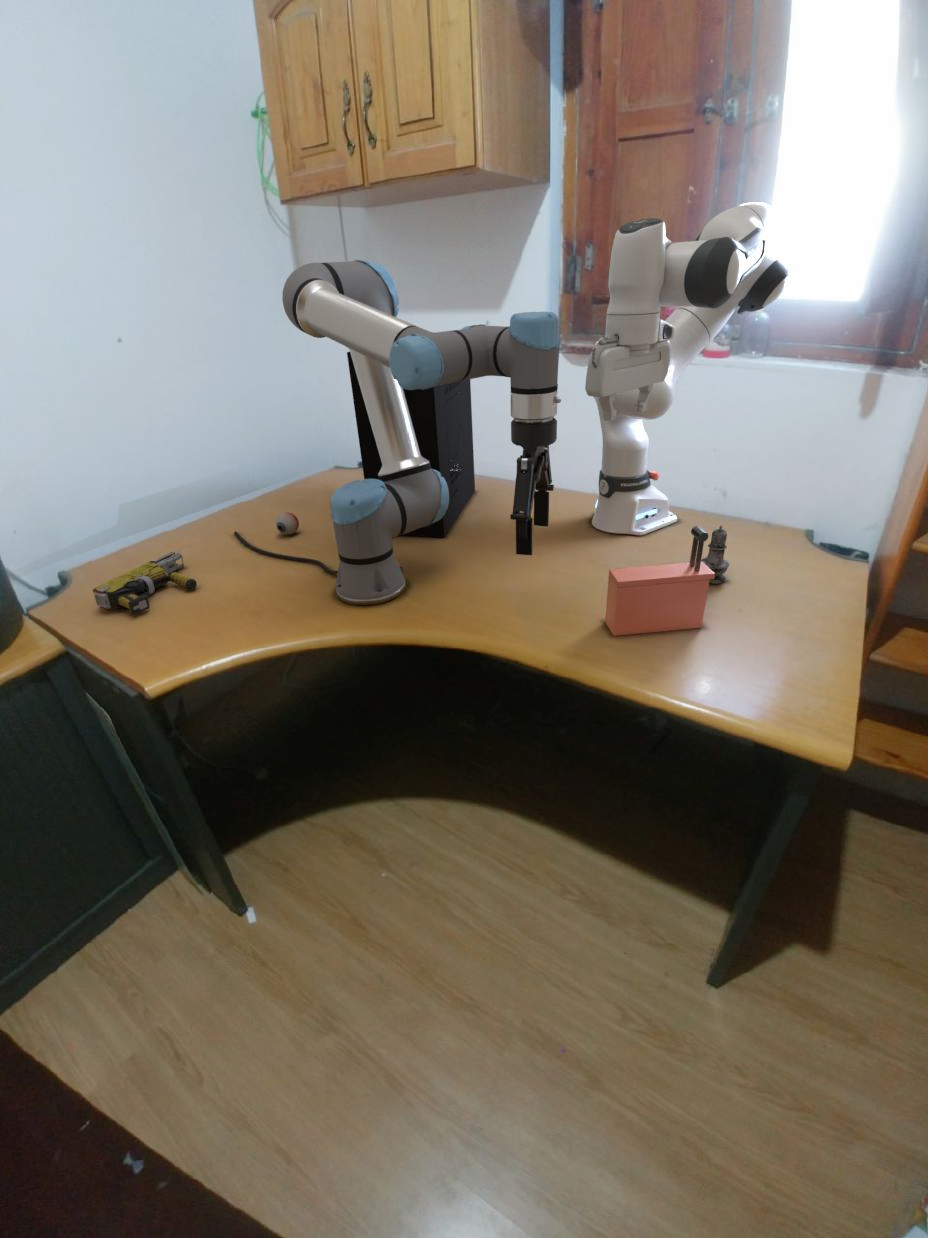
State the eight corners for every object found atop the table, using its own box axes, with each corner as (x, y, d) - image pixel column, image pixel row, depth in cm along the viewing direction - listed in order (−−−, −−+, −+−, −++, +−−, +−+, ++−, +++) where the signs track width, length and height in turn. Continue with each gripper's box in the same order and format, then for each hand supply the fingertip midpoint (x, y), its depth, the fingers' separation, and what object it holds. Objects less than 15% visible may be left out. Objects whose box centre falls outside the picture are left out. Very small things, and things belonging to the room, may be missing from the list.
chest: (689, 613, 117) (697, 567, 112) (701, 627, 113) (709, 579, 108) (604, 621, 117) (608, 574, 112) (613, 635, 112) (617, 587, 107)
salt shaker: (728, 584, 127) (739, 531, 121) (699, 583, 128) (707, 530, 122) (724, 572, 132) (733, 520, 126) (695, 571, 133) (703, 519, 127)
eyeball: (273, 537, 164) (268, 516, 161) (287, 528, 169) (282, 508, 166) (291, 539, 161) (286, 518, 158) (305, 530, 166) (301, 510, 163)
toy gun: (220, 560, 144) (169, 549, 148) (142, 602, 124) (86, 589, 128) (223, 577, 146) (173, 566, 150) (147, 622, 126) (91, 608, 130)
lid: (701, 566, 112) (708, 522, 108) (714, 579, 108) (722, 533, 103) (608, 574, 112) (612, 530, 107) (617, 587, 107) (621, 541, 103)
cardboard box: (444, 537, 157) (431, 349, 135) (371, 534, 162) (346, 352, 139) (475, 491, 189) (468, 332, 166) (413, 489, 193) (398, 335, 171)
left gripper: (540, 437, 87) (538, 570, 98) (570, 403, 107) (566, 516, 118) (490, 435, 89) (494, 565, 100) (529, 402, 110) (528, 513, 120)
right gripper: (609, 338, 95) (604, 428, 102) (680, 326, 107) (670, 407, 114) (578, 337, 100) (575, 423, 107) (649, 326, 111) (642, 404, 118)
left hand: (533, 539), depth 109 cm, fingers open, 13 cm apart
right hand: (625, 415), depth 110 cm, fingers open, 8 cm apart
